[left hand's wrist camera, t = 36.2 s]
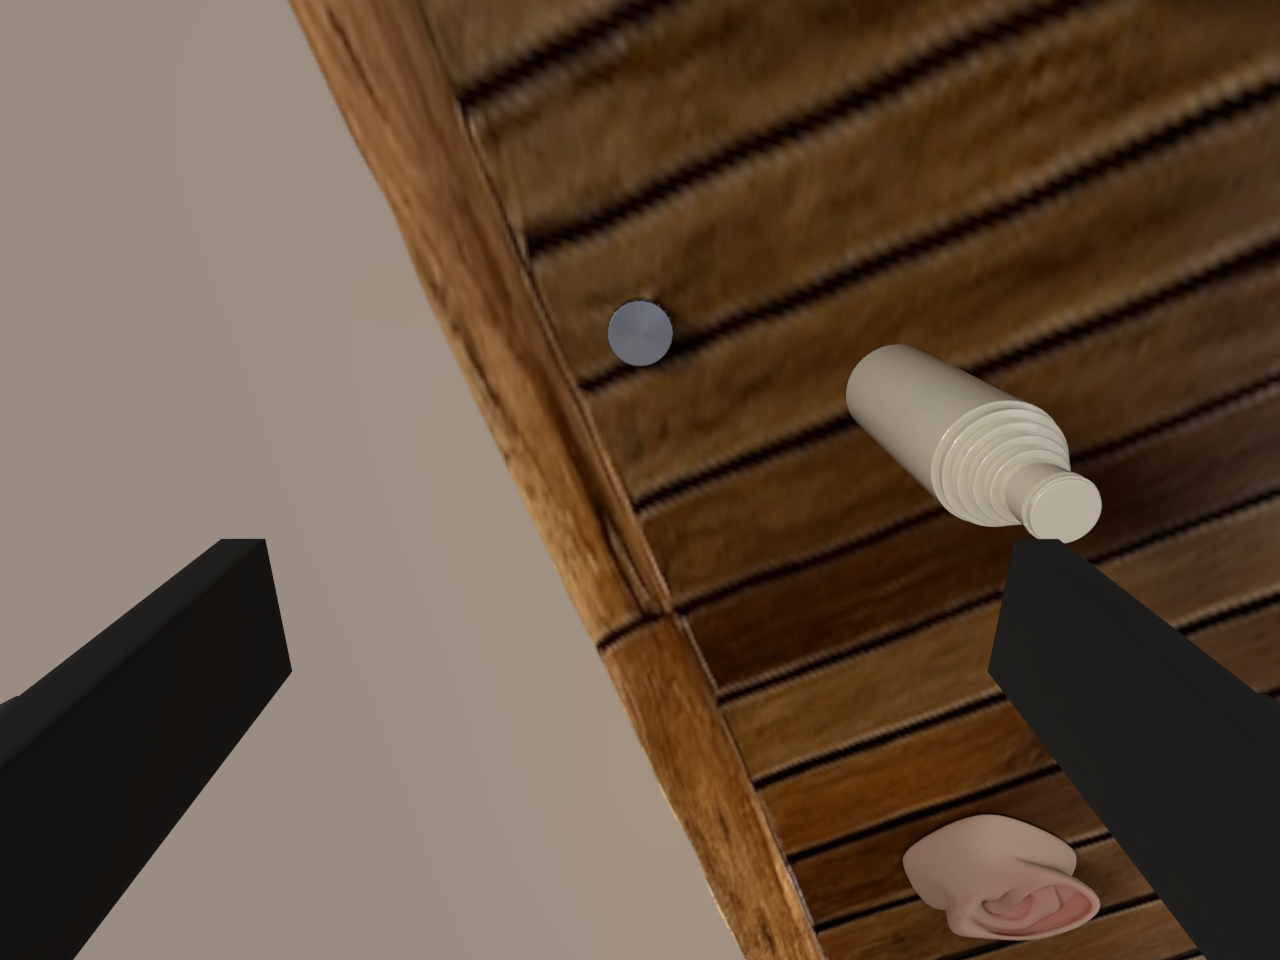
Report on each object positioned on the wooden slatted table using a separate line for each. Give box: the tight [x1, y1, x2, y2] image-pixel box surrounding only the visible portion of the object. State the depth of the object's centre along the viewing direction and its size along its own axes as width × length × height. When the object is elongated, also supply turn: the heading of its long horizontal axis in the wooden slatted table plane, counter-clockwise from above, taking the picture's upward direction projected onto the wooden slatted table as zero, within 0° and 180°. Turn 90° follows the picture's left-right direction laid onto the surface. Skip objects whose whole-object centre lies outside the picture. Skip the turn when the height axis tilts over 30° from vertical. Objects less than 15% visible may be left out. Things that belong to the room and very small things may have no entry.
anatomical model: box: [903, 814, 1100, 940], centre depth 57 cm, size 13×4×12 cm
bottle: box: [846, 344, 1102, 543], centre depth 36 cm, size 6×6×20 cm
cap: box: [607, 297, 673, 366], centre depth 43 cm, size 4×4×2 cm
